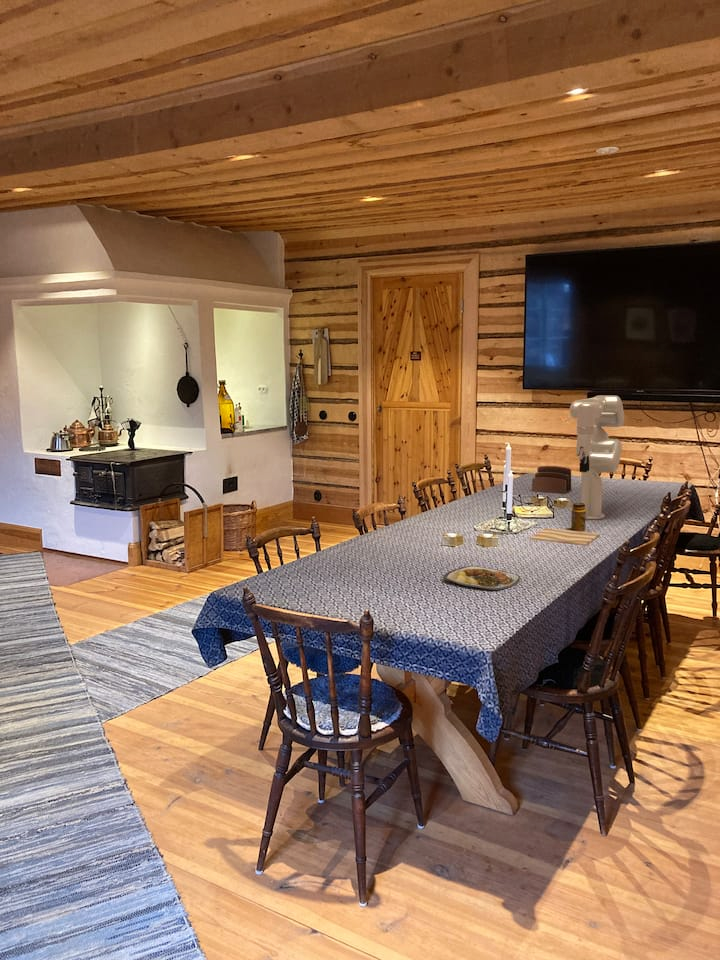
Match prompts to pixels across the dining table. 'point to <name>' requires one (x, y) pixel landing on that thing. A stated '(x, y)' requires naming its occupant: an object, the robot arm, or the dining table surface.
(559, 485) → the letter holder
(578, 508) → the condiment
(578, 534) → the oak board
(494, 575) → the meal
